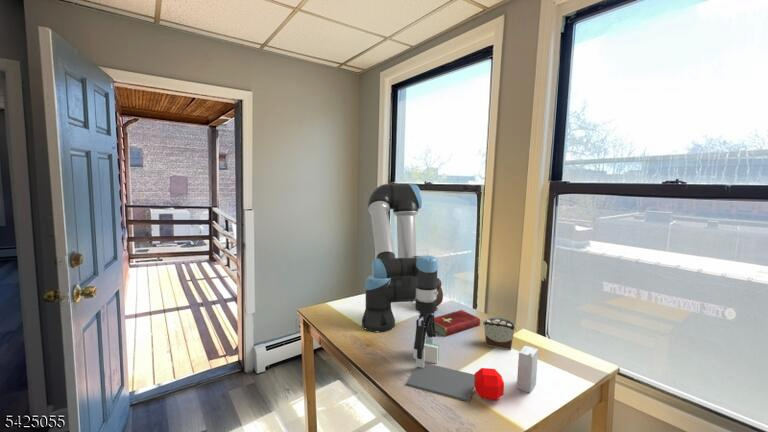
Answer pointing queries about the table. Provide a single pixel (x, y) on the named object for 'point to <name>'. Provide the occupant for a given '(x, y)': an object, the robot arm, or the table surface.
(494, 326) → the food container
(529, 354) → the skincare box
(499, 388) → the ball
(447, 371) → the mat
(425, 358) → the tile
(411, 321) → the table surface
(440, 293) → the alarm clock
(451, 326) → the hardcover book
